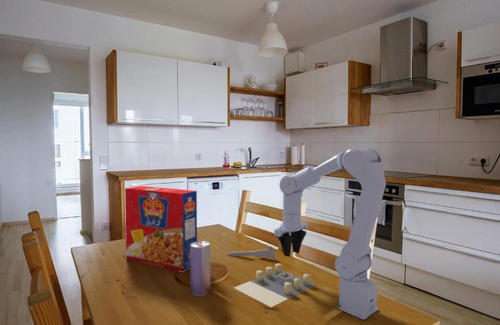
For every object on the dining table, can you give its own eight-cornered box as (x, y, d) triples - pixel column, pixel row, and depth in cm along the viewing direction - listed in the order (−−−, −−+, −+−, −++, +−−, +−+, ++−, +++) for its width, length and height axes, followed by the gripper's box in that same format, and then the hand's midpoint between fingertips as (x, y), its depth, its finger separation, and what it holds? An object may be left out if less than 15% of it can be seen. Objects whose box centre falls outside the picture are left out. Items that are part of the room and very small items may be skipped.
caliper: (275, 262, 123) (275, 246, 123) (274, 263, 122) (274, 247, 122) (228, 255, 132) (228, 240, 131) (226, 255, 131) (226, 240, 130)
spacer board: (316, 287, 101) (317, 275, 101) (271, 310, 87) (271, 296, 87) (279, 272, 113) (279, 261, 113) (233, 290, 99) (233, 278, 99)
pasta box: (126, 259, 125) (125, 188, 124) (141, 253, 133) (140, 185, 131) (183, 272, 113) (182, 193, 111) (197, 265, 120) (196, 190, 118)
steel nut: (295, 282, 103) (295, 276, 103) (286, 286, 100) (286, 279, 100) (283, 277, 106) (283, 271, 106) (274, 281, 104) (274, 275, 103)
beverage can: (191, 298, 94) (191, 247, 93) (189, 289, 100) (189, 241, 99) (211, 295, 96) (211, 246, 95) (208, 287, 102) (208, 240, 101)
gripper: (296, 207, 112) (295, 246, 113) (267, 214, 102) (267, 256, 103) (313, 211, 107) (312, 251, 107) (284, 217, 97) (283, 262, 98)
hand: (291, 254), depth 105 cm, fingers open, 4 cm apart
